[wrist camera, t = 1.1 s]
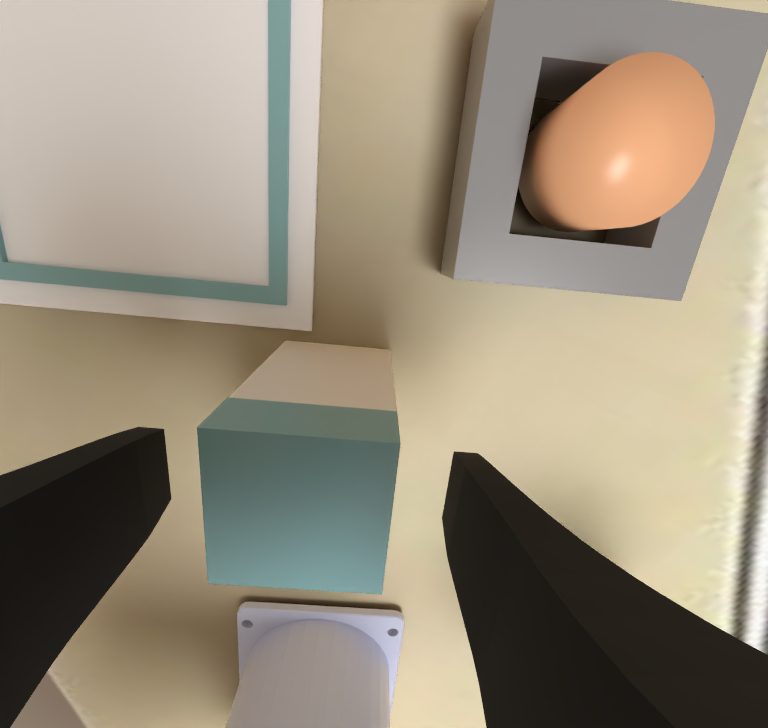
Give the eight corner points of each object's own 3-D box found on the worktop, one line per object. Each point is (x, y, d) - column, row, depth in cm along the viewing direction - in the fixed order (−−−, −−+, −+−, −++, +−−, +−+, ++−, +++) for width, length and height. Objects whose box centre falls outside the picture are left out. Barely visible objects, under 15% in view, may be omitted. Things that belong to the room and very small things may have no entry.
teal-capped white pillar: (380, 441, 15) (381, 594, 8) (284, 433, 15) (207, 583, 8) (390, 349, 14) (400, 443, 7) (285, 340, 14) (196, 427, 7)
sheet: (312, 330, 14) (310, 332, 13) (-21, 300, 13) (-32, 301, 13) (327, -97, 10) (325, -111, 10) (-133, -160, 9) (-154, -177, 9)
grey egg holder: (629, 291, 13) (680, 301, 11) (440, 273, 13) (453, 278, 11) (697, 62, 11) (778, 15, 9) (473, 34, 11) (498, -23, 9)
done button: (618, 237, 12) (683, 234, 9) (507, 226, 11) (543, 219, 9) (654, 105, 10) (739, 62, 8) (532, 91, 10) (580, 42, 8)
